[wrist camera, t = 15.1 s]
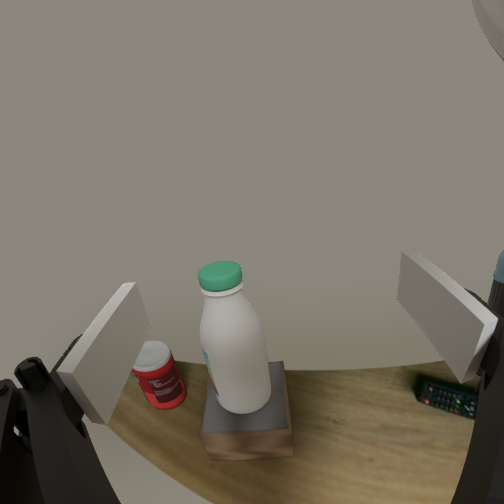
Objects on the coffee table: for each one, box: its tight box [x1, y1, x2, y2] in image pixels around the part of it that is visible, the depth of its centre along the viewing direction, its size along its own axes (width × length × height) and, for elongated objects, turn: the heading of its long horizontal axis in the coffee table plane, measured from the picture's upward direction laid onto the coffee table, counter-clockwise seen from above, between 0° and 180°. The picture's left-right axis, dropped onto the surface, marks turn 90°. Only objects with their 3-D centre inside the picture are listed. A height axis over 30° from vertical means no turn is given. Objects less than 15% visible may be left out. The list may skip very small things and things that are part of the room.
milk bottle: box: [198, 261, 271, 414], centre depth 33 cm, size 8×8×20 cm
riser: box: [199, 361, 293, 460], centre depth 38 cm, size 12×14×8 cm
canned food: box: [132, 341, 186, 410], centre depth 45 cm, size 8×8×11 cm
